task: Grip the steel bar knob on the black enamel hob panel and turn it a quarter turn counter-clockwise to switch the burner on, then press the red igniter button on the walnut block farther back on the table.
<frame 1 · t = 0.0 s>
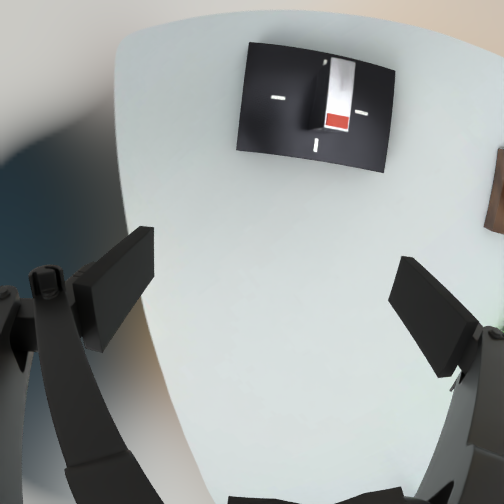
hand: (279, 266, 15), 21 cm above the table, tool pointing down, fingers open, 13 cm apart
burner knob: (329, 99, 24), point 7 cm above the table, hinge at 0.0°
hob panel: (315, 107, 31), on the table
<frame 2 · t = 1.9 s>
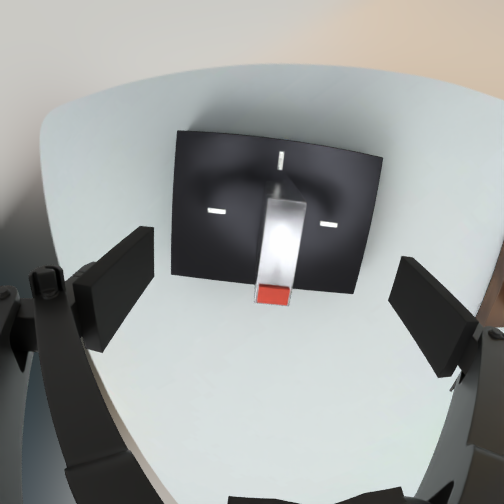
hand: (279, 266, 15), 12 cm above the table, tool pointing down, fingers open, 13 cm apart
burner knob: (275, 233, 20), point 7 cm above the table, hinge at 0.0°
hob panel: (272, 208, 26), on the table
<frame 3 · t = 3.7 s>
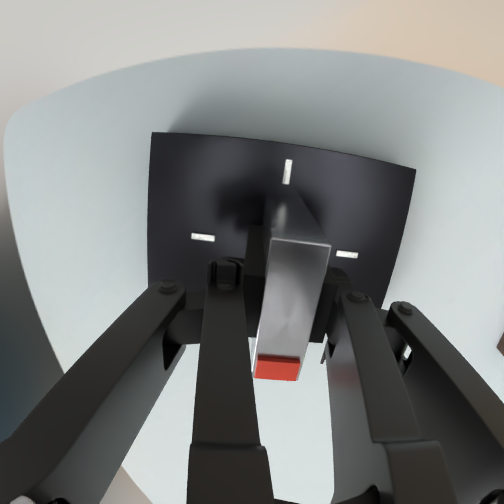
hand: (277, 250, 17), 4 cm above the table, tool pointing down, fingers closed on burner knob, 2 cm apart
burner knob: (280, 274, 14), point 7 cm above the table, hinge at 0.1°, touching gripper
hob panel: (274, 230, 21), on the table
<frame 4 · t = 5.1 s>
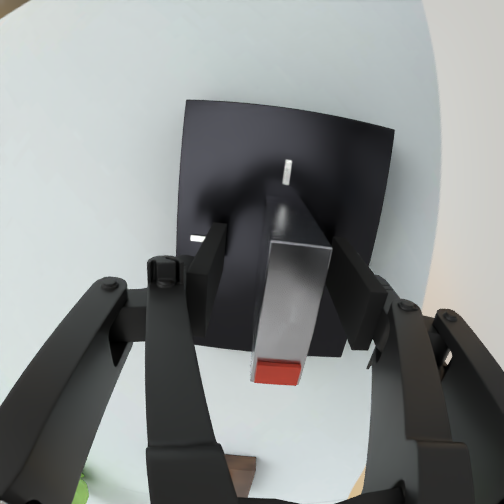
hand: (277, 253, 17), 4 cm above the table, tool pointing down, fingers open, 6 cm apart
burner knob: (281, 277, 14), point 7 cm above the table, hinge at 90.0°
igniter: (206, 468, 33), on the table
hob panel: (274, 231, 21), on the table
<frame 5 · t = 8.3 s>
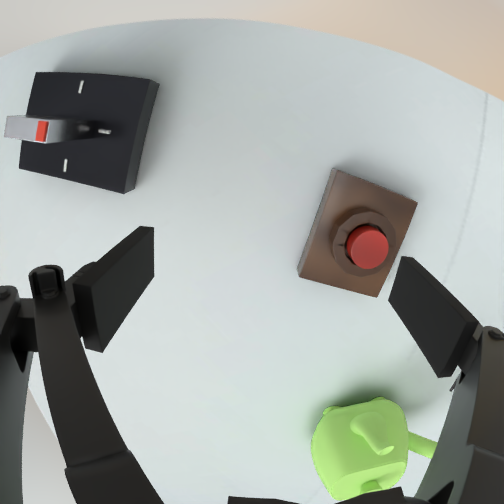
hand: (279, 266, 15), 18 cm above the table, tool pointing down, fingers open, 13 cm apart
teapot: (369, 411, 44), on the table
burner knob: (50, 127, 22), point 7 cm above the table, hinge at 90.0°
igniter: (355, 233, 33), on the table
igniter button: (367, 247, 29), point 4 cm above the table, slide at 0.1 cm
hob panel: (86, 125, 29), on the table
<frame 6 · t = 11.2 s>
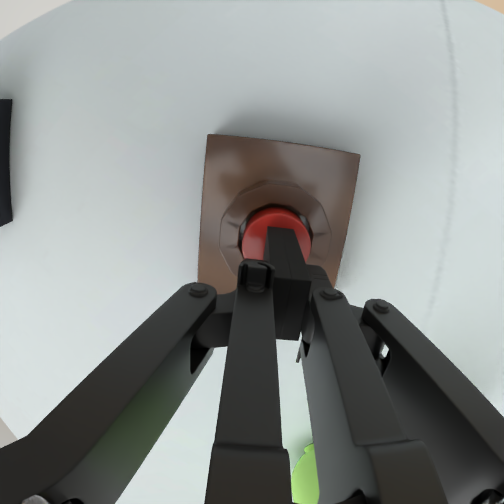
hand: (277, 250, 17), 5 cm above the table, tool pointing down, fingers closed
teapot: (366, 442, 33), on the table
igniter: (273, 222, 22), on the table
igniter button: (275, 242, 18), point 4 cm above the table, slide at 0.0 cm, touching gripper
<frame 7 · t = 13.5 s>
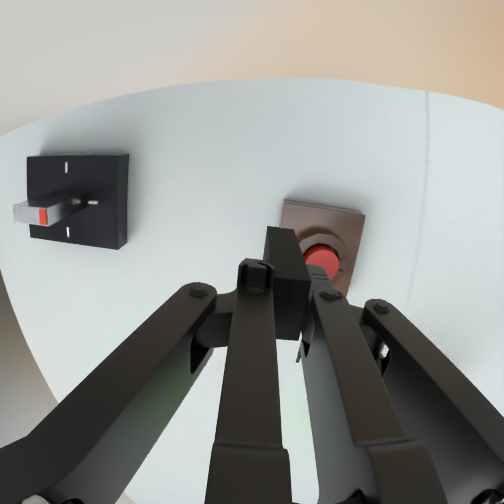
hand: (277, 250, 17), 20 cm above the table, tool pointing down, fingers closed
burner knob: (48, 207, 30), point 7 cm above the table, hinge at 90.0°
igniter: (314, 250, 39), on the table
igniter button: (321, 263, 35), point 4 cm above the table, slide at 0.1 cm
hob panel: (78, 196, 37), on the table
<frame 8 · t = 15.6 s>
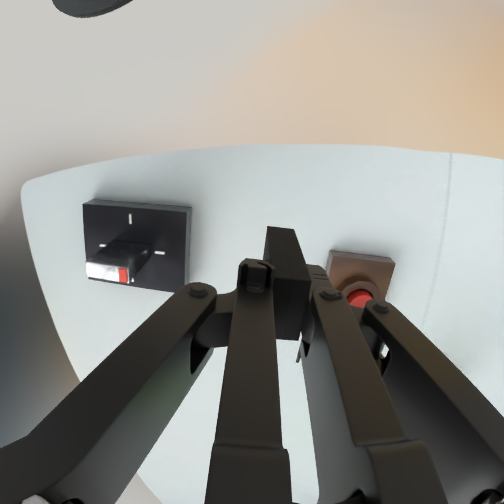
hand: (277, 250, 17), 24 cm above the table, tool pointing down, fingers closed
burner knob: (119, 260, 37), point 7 cm above the table, hinge at 90.0°
igniter: (352, 290, 45), on the table
igniter button: (360, 304, 41), point 4 cm above the table, slide at 0.1 cm
hob panel: (138, 241, 44), on the table
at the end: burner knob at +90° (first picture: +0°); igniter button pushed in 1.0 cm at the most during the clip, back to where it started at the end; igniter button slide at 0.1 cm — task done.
